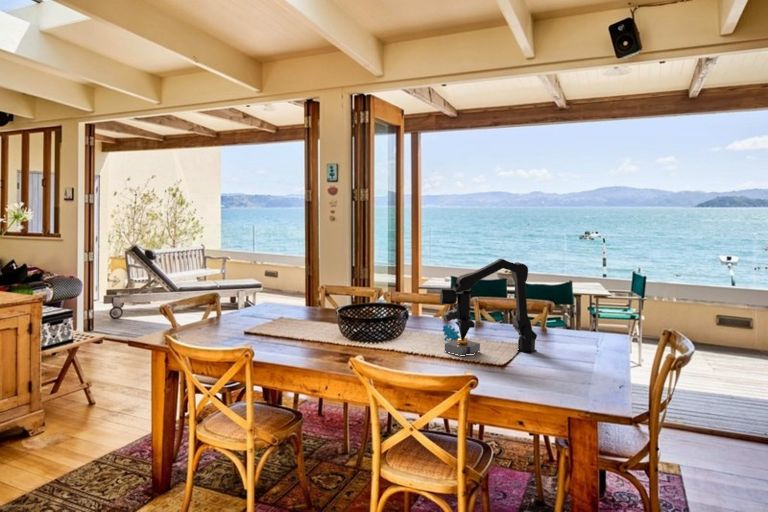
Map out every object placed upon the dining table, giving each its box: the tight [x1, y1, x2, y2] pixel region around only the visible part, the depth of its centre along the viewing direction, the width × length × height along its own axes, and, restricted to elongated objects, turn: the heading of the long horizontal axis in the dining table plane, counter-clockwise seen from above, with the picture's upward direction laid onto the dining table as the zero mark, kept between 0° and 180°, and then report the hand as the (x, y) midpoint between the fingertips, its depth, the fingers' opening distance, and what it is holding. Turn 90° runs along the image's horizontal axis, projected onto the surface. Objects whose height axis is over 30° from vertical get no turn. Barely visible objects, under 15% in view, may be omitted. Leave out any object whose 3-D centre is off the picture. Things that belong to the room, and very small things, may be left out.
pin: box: [457, 337, 468, 345], centre depth 217 cm, size 4×4×6 cm
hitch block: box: [444, 340, 481, 355], centre depth 217 cm, size 12×12×4 cm
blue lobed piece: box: [442, 324, 461, 341], centre depth 237 cm, size 11×6×10 cm
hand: (462, 339), depth 217 cm, fingers closed, pressing on pin
